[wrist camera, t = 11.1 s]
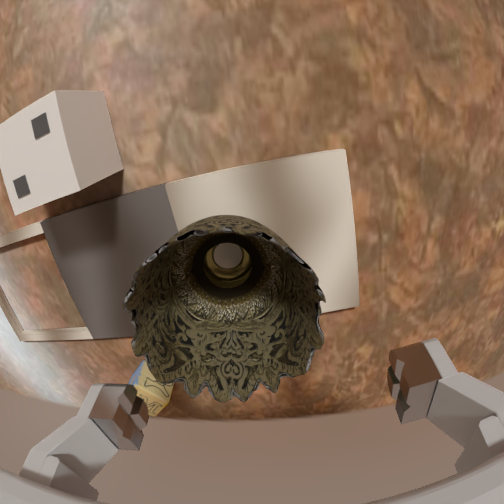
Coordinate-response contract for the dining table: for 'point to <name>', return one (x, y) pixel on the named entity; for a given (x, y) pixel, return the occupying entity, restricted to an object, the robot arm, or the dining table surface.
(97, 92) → the die
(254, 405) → the dining table surface
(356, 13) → the dining table surface
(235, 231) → the cup
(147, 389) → the alphabet block
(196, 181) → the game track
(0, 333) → the dining table surface
